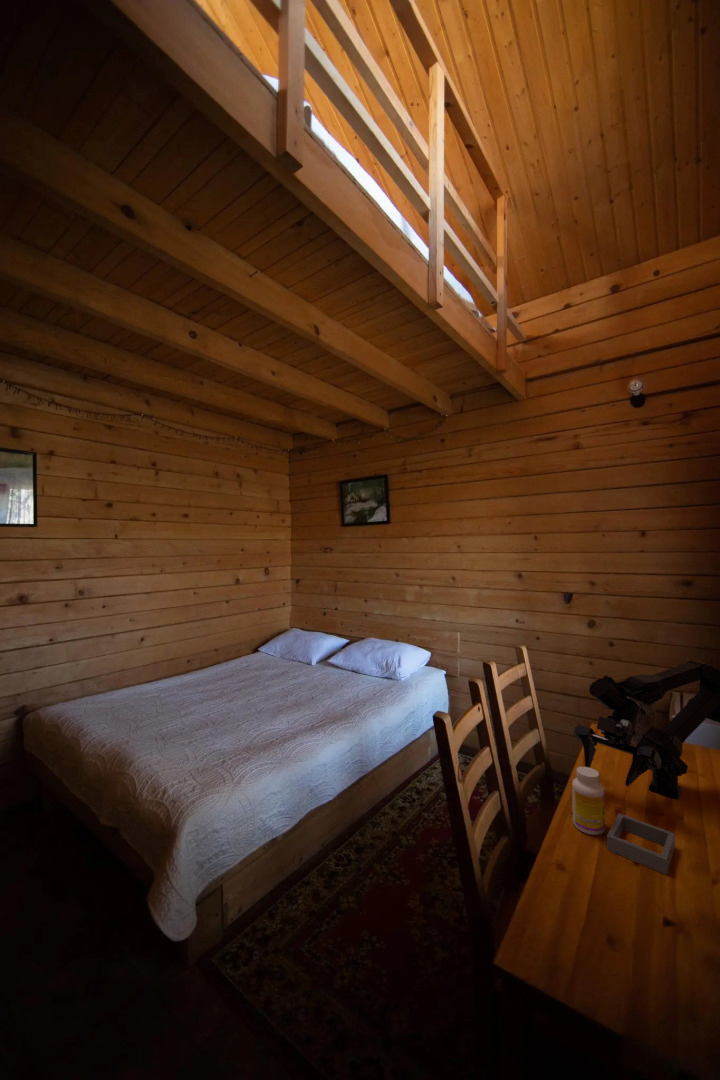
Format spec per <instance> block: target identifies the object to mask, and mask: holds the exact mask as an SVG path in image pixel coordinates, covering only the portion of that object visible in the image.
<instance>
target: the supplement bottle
mask: <svg viewBox="0 0 720 1080" xmlns="http://www.w3.org/2000/svg"><path fill="white" fill-rule="evenodd" d="M575 775H576V777H575V778H574V779H573V780H572V783H571V785H572V786H571V789H572V791H571V794H572V795H571V796H572V797H571V798H572V799H571V800H572V802H571V803H572V823H573V825H574V826H575V828H576V829H578V830H579V831H581V832H583V833H584V834H587V835H592V836H599V835H602V834H603V833H604V832H605V830H606V825H605V824H606V819H605V815H606V814H605V789H604V786H603V785H602V784H601V782H599V780H600V773H599V772H598V771H597V770H596V769H594V768H592V767H590V768H589V767H585V766H578V767H577V768H576V773H575Z"/></svg>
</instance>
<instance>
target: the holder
mask: <svg viewBox="0 0 720 1080" xmlns="http://www.w3.org/2000/svg"><path fill="white" fill-rule="evenodd" d="M623 831H625V832H627V833H630V834H633V835H636V836H638V837H640V838H643V839H646V840H648V841H650V842H653V843H655V844H658V845H661V846H663V848H662V852H661V854H660V853H657V852H655V851H653V850H651V849H647V848H646V847H643V846H640V845H638V844H636V843H632V842H631V841H628V840H625V839H623V838H622V837H621V836H622V833H623ZM620 837H621V838H620ZM606 849H607V851H610V852H612V853H614V854H616V855H618V856H621V857H623V858H626V859H628V860H629V861H630V860H631V861H633V862H635V863H638V864H640V865H642V866H645V867H646V868H649V869H652V870H654V871H656V872H658V873H661V874H663V875H665V876H667V875H668V872H669V869H670V866H671V863H672V859H673V856H674V852H675V849H676V834H675V833H674V832H671V831H668V830H667V829H663V828H661V827H658V826H655V825H652V824H650V823H648V822H645V821H642V820H639V819H636V818H634V817H631V816H629V815H625V814H623V813H620V812H619V813H618V814H617V816H616V818H615V819H614V821H613V824H612V825H611V828H610V829H609V831H608V832H607V835H606Z"/></svg>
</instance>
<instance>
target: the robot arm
mask: <svg viewBox="0 0 720 1080" xmlns="http://www.w3.org/2000/svg"><path fill="white" fill-rule="evenodd" d="M694 682H698V692H697V693H695V695H694V696H693V697H692V699H690V700H689V701H688V703H686V705H684V707H683V708H682V709H681V710H680V711H678V712H677V714H676V715H675V716H674V717H673V718H672V719H671V720H669V721H668V723H666V725H665V726H663V727H661V728H657V726H656V727H654V726H652V727H650V728H649V729H648V731H647V732H646V733H645V734H642V735H641V736H643V737H642V738H641V740H640V742H639V743H638V744H637V746H636V747H633V746H630V743H631V740H632V736H635V731H634V729H635V726H636V722H637V719H638V715H646V712H645V710H644V709H643V707H642V704H637V703H636V702H635V701H634V700H637V701H640V702H642V703H644V704H648V705H650V704H653V703H655V704H656V703H657V702H658V701H660V700H661V699H663V698H664V696H665V694H666V693H667V692H669V691H672V690H675V689H677V688H680V687H683V686H686V685H689V684H692V683H694ZM588 689H589V690H588V691H589V694H590V695H591V696H592V697H593V698H594V699H595V700H596V701H598V703H599V704H601V705H602V706H604V707H605V708H606V710H612V711H611V713H610V715H608V716H607V717H605V716H601V715H598V718H597V719H598V721H597V725H596V729H597V730H600V734H602V735H603V736H601V735H599V734H596V733H595V731H594V730H593V728H591V727H588V726H585V725H582V724H577V725H576V726H575V727H574V729H573V734H574V735H575V737H576V738H577V740H578V741H579V742H580V743H581V744H582V747H583V755H584V767H589V768H591V767H592V763H593V760H594V758H595V754H596V751H597V749H596V747H595V746H597V745H598V744H599V745H602V746H604V747H605V746H606V747H608V748H611V749H614V750H617V751H620V752H623V753H626V754H629V755H632V759H631V760H632V761H631V764H630V767H629V770H628V773H627V774H626V778H625V783H624V784H625V786H626V787H628V788H629V787H630V786H631V785H632V784H633V783H634V781H636V780H637V779H638V778H639V777H641V775H643V774H644V773H646V772H648V771H651V779H652V780H651V782H650V784H649V786H648V790H649V791H651V792H653V793H657V794H660V795H663V796H666V797H670V798H672V799H676V800H677V799H679V798H680V797H681V794H682V793H681V792H682V791H683V787H682V786H679V777H682V775H686V774H687V771H688V768H689V765H688V764H687V763H686V762H685V761H684V760H683V759H681V756H682V755H683V745H684V742H685V741H686V740H687V739H688V738H689V737H690V736H691V735H692V734H693V732H695V730H697V728H698V727H699V726H700V725H701V724H702V723H703V722H704V721H705V720H706V719H707V718H708V717H710V715H711V714H712V713H713V712H714V710H716V709H717V707H719V706H720V670H719V669H716V668H715V667H713V665H712V666H711V665H710V664H708V663H705V662H702V661H699V660H697V659H696V660H695V659H694V660H693V659H691V660H688V661H687V662H686V663H684V664H680V665H678V666H675V667H671V668H669V669H667V670H663V671H660V672H658V673H655V674H653V673H652V674H637V675H634V674H633V675H629V676H628V677H626V678H625V679H624V680H621V681H618V682H617V681H615V680H614V678H612V677H611V676H609V675H607V674H605V675H604V676H603V677H601V678H598V679H596V680H595V681H593V682H592V683H590V686H589V688H588ZM629 697H630V698H632V699H634V700H632V699H629Z"/></svg>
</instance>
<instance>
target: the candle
mask: <svg viewBox="0 0 720 1080" xmlns="http://www.w3.org/2000/svg"><path fill="white" fill-rule="evenodd" d="M628 698H629V699H632V698H630V697H628ZM632 700H634V699H632ZM634 701H635V702H636V703H637V704H642V707H643V709H644V710H645V712H646V715H638V719H637V722H636V726H635V729H634V731H635V736H632V740H631V743H630V746H633V747H636V746H637V744H638V743H639V742H640V740H641V738H642V737H643V736H641V735H642V734H645V733H646V732H647V731H648V729H649V728H650V727H652V726H654V727H656V728H657V717H656V716H657V715H656V713H657V712H656V702H655V703H653V704H650V705H648V704H644V703H642V702H640V701H637V700H634Z"/></svg>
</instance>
